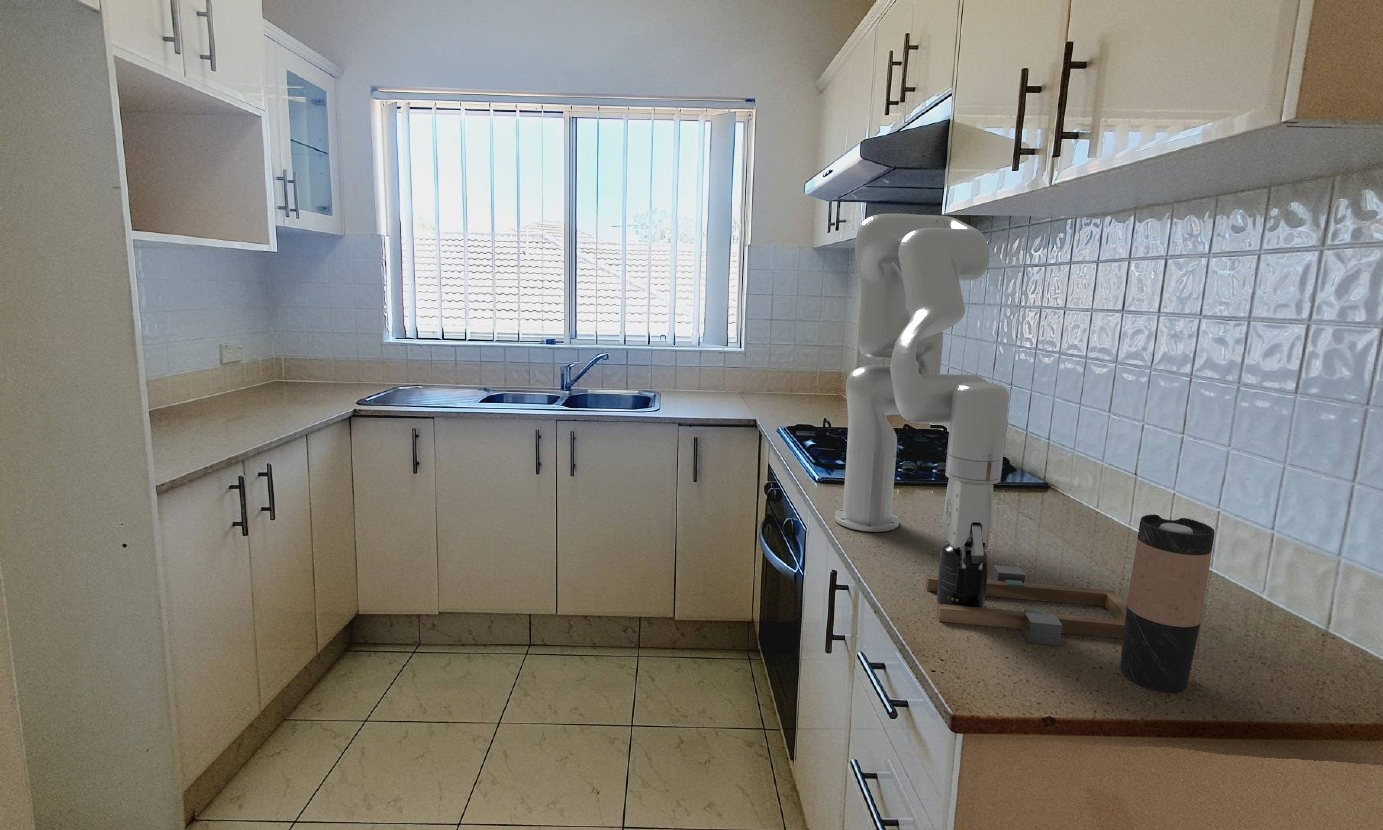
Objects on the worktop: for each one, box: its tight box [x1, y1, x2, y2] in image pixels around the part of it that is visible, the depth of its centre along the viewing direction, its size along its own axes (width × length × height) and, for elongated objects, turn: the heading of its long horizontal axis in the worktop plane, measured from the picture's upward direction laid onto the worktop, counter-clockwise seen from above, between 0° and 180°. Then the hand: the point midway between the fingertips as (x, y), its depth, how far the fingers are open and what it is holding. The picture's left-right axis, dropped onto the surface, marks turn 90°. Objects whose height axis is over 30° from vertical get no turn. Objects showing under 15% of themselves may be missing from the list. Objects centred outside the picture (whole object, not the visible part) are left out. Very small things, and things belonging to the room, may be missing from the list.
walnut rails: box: [925, 574, 1127, 639], centre depth 107 cm, size 12×28×2 cm, turn 81°
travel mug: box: [1119, 513, 1216, 694], centre depth 88 cm, size 8×8×20 cm
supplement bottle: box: [936, 540, 990, 608], centre depth 107 cm, size 7×7×12 cm
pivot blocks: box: [991, 564, 1063, 647], centre depth 107 cm, size 20×4×3 cm, turn 171°
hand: (961, 582), depth 108 cm, fingers closed on supplement bottle, 6 cm apart
